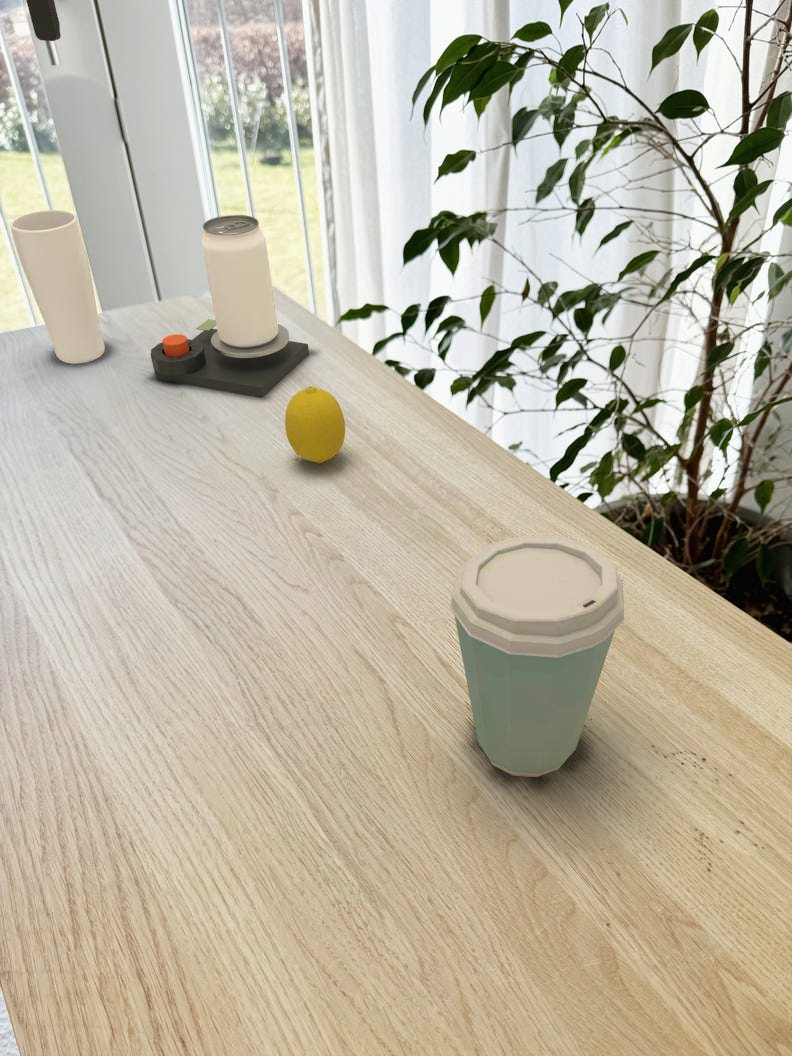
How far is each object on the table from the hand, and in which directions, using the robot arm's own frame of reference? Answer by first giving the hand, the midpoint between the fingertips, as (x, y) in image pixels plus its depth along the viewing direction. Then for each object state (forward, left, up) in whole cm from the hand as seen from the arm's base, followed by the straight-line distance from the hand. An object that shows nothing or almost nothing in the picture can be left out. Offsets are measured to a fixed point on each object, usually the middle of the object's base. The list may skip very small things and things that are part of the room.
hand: (17, 50), depth 87 cm
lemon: (+28, -6, -32) cm, 43 cm away
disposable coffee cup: (+58, -34, -32) cm, 75 cm away
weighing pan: (+10, +10, -29) cm, 32 cm away
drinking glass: (-8, +6, -32) cm, 34 cm away
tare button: (+5, +6, -29) cm, 31 cm away
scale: (+10, +9, -32) cm, 35 cm away
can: (+12, +10, -29) cm, 33 cm away
